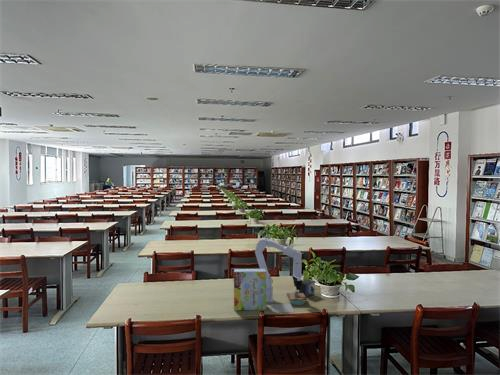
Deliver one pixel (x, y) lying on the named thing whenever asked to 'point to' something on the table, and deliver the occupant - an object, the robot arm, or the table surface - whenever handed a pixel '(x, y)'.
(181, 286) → the table surface
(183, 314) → the table surface
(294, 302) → the bowl
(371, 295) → the table surface
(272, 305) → the mat
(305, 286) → the small box
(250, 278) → the snack box
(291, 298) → the cover
